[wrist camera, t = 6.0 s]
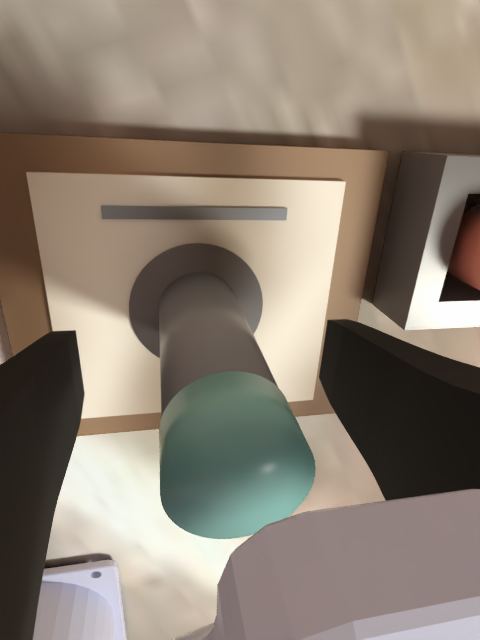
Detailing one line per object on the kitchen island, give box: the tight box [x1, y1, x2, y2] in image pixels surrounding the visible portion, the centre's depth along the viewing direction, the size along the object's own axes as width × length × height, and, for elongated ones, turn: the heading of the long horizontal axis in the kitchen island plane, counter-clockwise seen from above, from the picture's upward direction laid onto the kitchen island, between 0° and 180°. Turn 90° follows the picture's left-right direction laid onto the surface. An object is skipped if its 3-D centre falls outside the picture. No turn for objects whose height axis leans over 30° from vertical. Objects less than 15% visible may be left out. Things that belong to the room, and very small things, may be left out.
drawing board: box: [0, 133, 389, 436], centre depth 15 cm, size 13×11×1 cm
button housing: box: [372, 151, 480, 330], centre depth 15 cm, size 6×6×2 cm
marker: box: [159, 272, 315, 539], centre depth 11 cm, size 3×3×8 cm
